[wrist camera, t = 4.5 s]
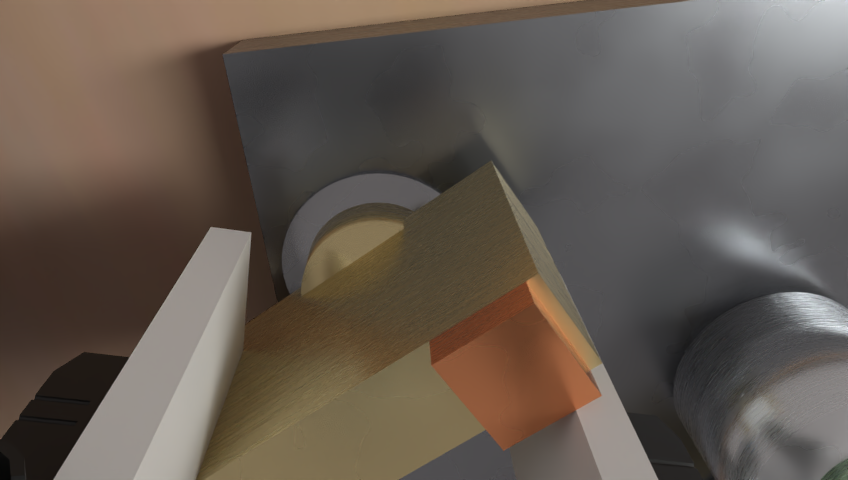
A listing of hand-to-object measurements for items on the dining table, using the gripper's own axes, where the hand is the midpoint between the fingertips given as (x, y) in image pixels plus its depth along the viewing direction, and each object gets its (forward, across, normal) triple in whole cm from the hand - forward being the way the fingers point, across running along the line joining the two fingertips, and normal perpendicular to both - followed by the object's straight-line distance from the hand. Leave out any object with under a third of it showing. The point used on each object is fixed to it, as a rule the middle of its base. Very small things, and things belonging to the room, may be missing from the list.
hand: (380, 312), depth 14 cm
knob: (+2, 0, 0) cm, 2 cm away
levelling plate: (+4, -10, 0) cm, 11 cm away
